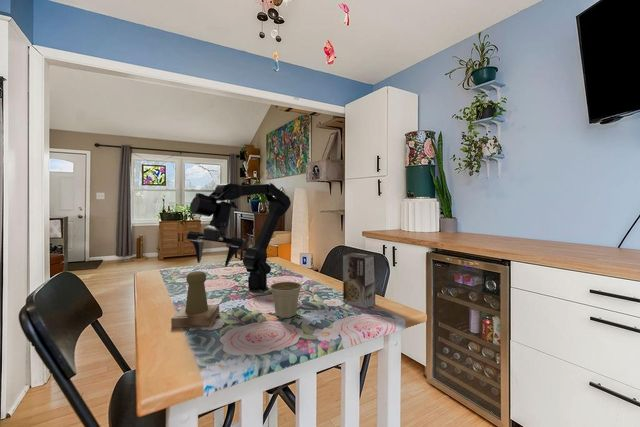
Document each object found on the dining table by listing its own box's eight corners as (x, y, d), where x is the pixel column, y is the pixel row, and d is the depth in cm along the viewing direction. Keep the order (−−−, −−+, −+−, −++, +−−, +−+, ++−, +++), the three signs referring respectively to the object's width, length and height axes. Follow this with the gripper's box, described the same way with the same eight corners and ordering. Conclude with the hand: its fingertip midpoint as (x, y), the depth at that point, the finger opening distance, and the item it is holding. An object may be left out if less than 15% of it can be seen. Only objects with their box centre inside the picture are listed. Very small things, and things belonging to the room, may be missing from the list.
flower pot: (275, 322, 83) (275, 292, 83) (265, 311, 92) (265, 283, 91) (306, 317, 88) (306, 287, 87) (294, 307, 96) (294, 280, 96)
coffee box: (376, 304, 99) (376, 255, 99) (364, 309, 94) (365, 257, 94) (353, 298, 105) (354, 252, 105) (342, 302, 101) (342, 254, 100)
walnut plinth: (219, 312, 91) (219, 304, 91) (210, 326, 81) (210, 316, 81) (184, 313, 90) (184, 305, 90) (171, 327, 80) (171, 317, 80)
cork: (205, 313, 83) (204, 274, 82) (182, 314, 82) (181, 274, 82) (210, 306, 89) (209, 269, 88) (188, 306, 88) (188, 269, 88)
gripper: (184, 212, 95) (174, 261, 93) (242, 220, 96) (233, 270, 94) (197, 216, 106) (188, 260, 104) (249, 224, 107) (241, 268, 105)
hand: (212, 264), depth 102 cm, fingers open, 9 cm apart
